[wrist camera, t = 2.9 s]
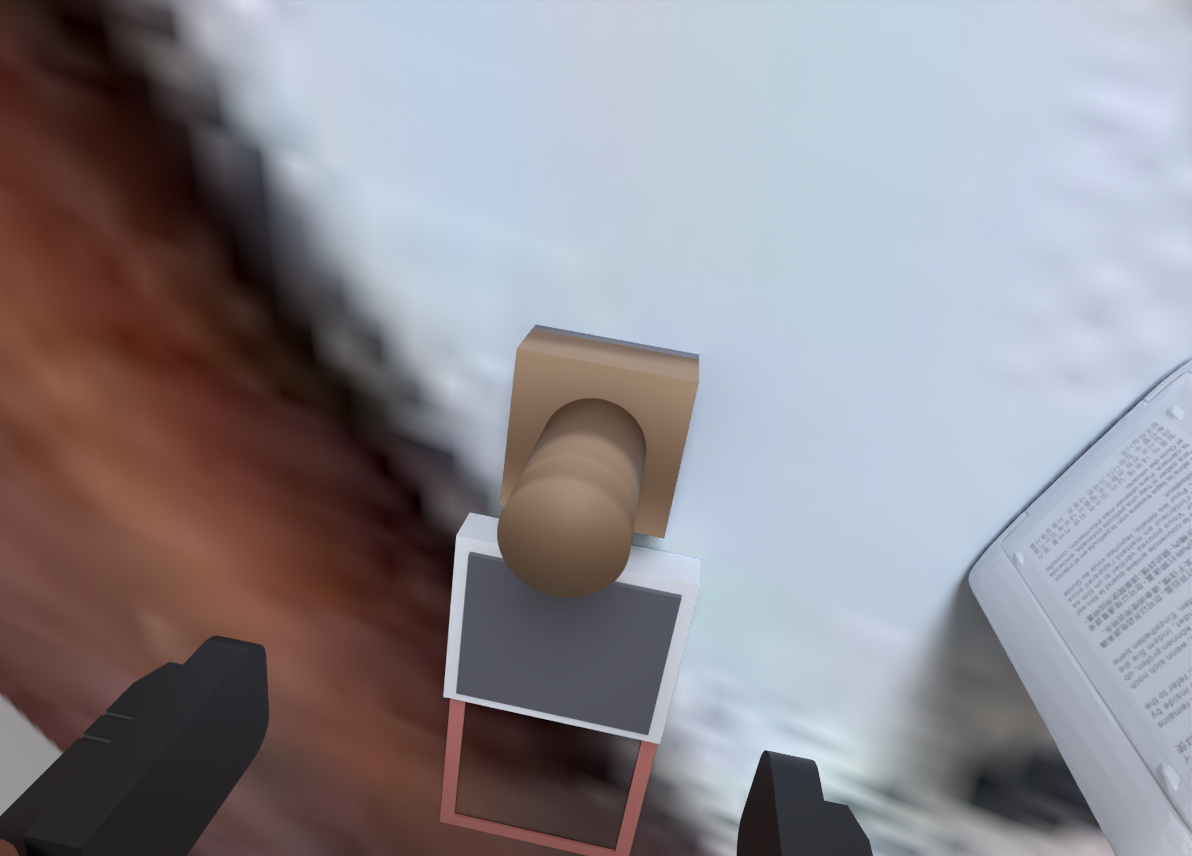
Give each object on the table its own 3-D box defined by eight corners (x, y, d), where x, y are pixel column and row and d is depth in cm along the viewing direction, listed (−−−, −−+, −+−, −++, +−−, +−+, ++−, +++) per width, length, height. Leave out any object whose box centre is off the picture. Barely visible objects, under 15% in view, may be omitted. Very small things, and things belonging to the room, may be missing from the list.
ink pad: (469, 512, 25) (454, 539, 23) (700, 559, 24) (700, 589, 23) (456, 668, 28) (441, 700, 26) (662, 712, 27) (659, 748, 26)
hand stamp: (536, 324, 22) (461, 418, 15) (698, 354, 22) (697, 464, 15) (518, 468, 24) (446, 608, 17) (667, 497, 24) (653, 652, 17)
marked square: (453, 675, 28) (452, 677, 28) (662, 721, 27) (662, 723, 27) (440, 819, 31) (439, 821, 31) (627, 862, 31) (626, 864, 31)
